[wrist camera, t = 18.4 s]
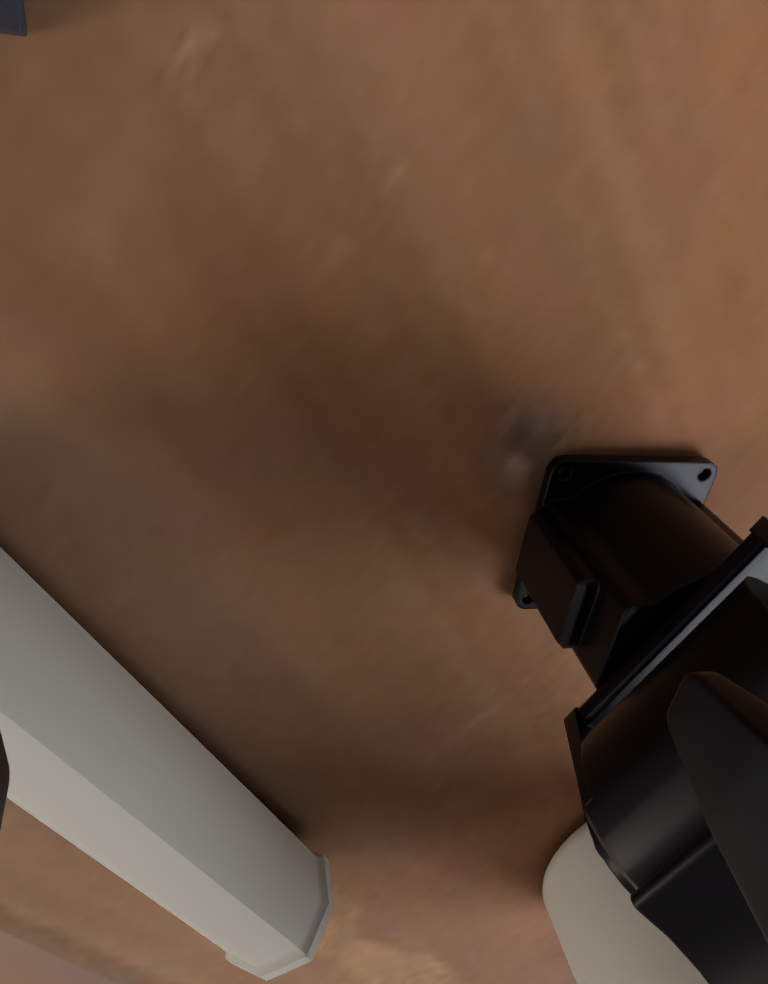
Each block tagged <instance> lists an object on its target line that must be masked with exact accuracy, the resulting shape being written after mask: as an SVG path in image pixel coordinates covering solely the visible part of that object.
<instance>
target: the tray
mask: <svg viewBox="0 0 768 984" xmlns="http://www.w3.org/2000/svg"><path fill="white" fill-rule="evenodd" d="M0 33H4V34H11V35H18V36H27V28H26V20H25V12H24V4H23V0H0Z"/></svg>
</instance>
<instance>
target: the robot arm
mask: <svg viewBox="0 0 768 984" xmlns="http://www.w3.org/2000/svg"><path fill="white" fill-rule="evenodd" d="M564 467H567V469H566V470H565V472H563V473H562V474H558V472H559V471H560V470H561V469H562V468H564ZM703 469H704V470H703ZM702 470H703V472H702V473H701V474H699V473H700V472H701V471H702ZM698 474H699V475H698ZM716 475H717V466H716V465H715V464H714V463H712V462H711V461H710V460H708V459H707V458H703V457H650V456H588V455H561V456H557V457H555V458H554V459H552V460H551V461H550V462H549V464H548V466H547V468H546V472H545V476H544V479H543V483H542V487H541V490H540V494H539V498H538V501H537V505H536V509H535V511H534V512H533V514H532V515H531V516H530V518H529V522H528V525H527V529H526V533H525V537H524V540H523V544H522V548H521V551H520V555H519V559H518V562H517V566H516V572H517V578H516V582H515V585H514V589H513V593H512V597H513V599H514V600H515V602H516V604H517V606H518V607H520V608H522V609H538V610H539V612H540V614H541V615H542V617H543V619H544V620H545V622H546V624H547V626H548V627H549V629H550V631H551V632H552V634H553V636H554V638H555V639H556V641H557V642H558V643H559V644H560V645H561V647H562V648H572V649H573V651H574V652H575V654H576V656H577V657H578V659H579V661H580V662H581V664H582V666H583V667H584V669H585V671H586V672H587V674H588V676H589V677H590V679H591V681H592V682H593V684H594V686H595V687H596V689H597V690H596V691H595V692H594V694H593V695H592V696H591V697H590V698H589V699H588V700H587V701H586V702H585V703H584V704H583V705H582V706H581V707H580V708H574V709H573V710H572V711H571V712H570V713H569V714H568V715H567V717H566V718H565V719H564V723H565V728H566V732H567V737H568V741H569V746H570V750H571V755H572V760H573V764H574V769H575V773H576V778H577V782H578V787H579V791H580V796H581V800H582V805H583V809H584V814H585V819H586V822H587V825H588V829H589V832H590V835H591V837H592V839H593V842H594V846H595V849H596V851H597V852H598V854H599V855H600V856H601V858H602V859H603V860H604V861H605V863H606V864H607V866H608V868H609V869H610V870H611V872H612V873H613V874H614V876H615V877H616V878H617V879H618V881H619V882H620V883H621V884H622V886H623V887H624V888H625V889H626V890H627V891H628V892H629V893H630V894H631V896H630V899H631V902H632V904H633V906H634V907H635V908H636V909H637V910H638V911H639V912H640V913H641V914H642V915H643V916H644V917H646V918H647V919H648V920H649V921H650V922H651V923H652V924H654V925H655V926H656V927H657V928H658V929H659V930H660V931H661V932H663V933H664V934H665V935H666V936H667V937H668V938H669V939H670V940H671V941H672V942H673V943H674V944H675V945H676V946H677V948H678V949H679V950H680V951H681V952H682V953H683V954H684V955H685V956H686V957H687V959H688V960H689V961H690V962H691V963H692V964H693V965H694V966H695V967H696V969H697V970H698V971H699V972H700V973H701V975H702V976H703V977H704V979H705V980H706V981H707V982H708V984H768V518H766V517H765V516H762V517H761V518H760V519H759V520H758V522H757V523H756V524H755V525H754V526H753V527H752V528H751V529H750V532H751V534H750V535H749V536H748V537H747V538H746V539H745V540H742V539H741V538H740V537H739V536H738V535H737V534H736V533H735V532H733V531H732V530H731V529H730V528H729V527H728V526H727V525H726V524H725V523H723V522H722V521H721V520H720V519H719V518H718V517H717V516H716V515H714V514H713V513H712V512H711V511H710V510H709V509H708V508H707V507H706V506H704V503H705V501H706V499H707V496H708V494H709V491H710V489H711V487H712V484H713V482H714V480H715V477H716ZM526 594H529V595H528V596H527V597H524V596H525V595H526ZM9 780H10V768H9V763H8V759H7V755H6V751H5V747H4V743H3V739H2V735H1V731H0V829H1V823H2V818H3V813H4V808H5V803H6V798H7V793H8V788H9Z"/></svg>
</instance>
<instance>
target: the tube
mask: <svg viewBox="0 0 768 984" xmlns="http://www.w3.org/2000/svg"><path fill="white" fill-rule="evenodd" d="M0 731H1V735H2V739H3V743H4V747H5V751H6V755H7V759H8V763H9V768H10V780H9V788H8V793H7V798H8V799H10V800H11V801H12V802H14V803H15V804H17V805H18V806H20V807H21V808H22V809H24V810H25V811H27V812H28V813H30V814H31V815H32V816H34V817H35V818H37V819H38V820H40V821H41V822H42V823H44V824H45V825H47V826H48V827H49V828H51V829H52V830H54V831H55V832H57V833H58V834H59V835H61V836H62V837H64V838H65V839H67V840H68V841H69V842H71V843H72V844H74V845H75V846H77V847H78V848H79V849H81V850H82V851H84V852H85V853H87V854H88V855H89V856H91V857H92V858H94V859H95V860H96V861H98V862H99V863H101V864H102V865H104V866H105V867H106V868H108V869H109V870H111V871H112V872H114V873H115V874H116V875H118V876H119V877H121V878H122V879H124V880H125V881H126V882H128V883H129V884H131V885H132V886H134V887H135V888H136V889H138V890H139V891H141V892H142V893H143V894H145V895H146V896H148V897H149V898H151V899H152V900H153V901H155V902H156V903H158V904H159V905H161V906H162V907H163V908H165V909H166V910H168V911H169V912H171V913H172V914H173V915H175V916H176V917H178V918H179V919H181V920H182V921H183V922H185V923H186V924H188V925H189V926H190V927H192V928H193V929H195V930H196V931H198V932H199V933H200V934H202V935H203V936H205V937H206V938H208V939H209V940H210V941H212V942H213V943H215V944H216V945H218V946H219V947H220V948H222V949H223V950H224V951H225V952H226V960H227V961H229V962H230V963H232V964H234V965H236V966H238V967H240V968H242V969H244V970H246V971H248V972H250V973H252V974H254V975H256V976H258V977H260V978H262V979H264V980H266V981H268V980H270V979H272V978H275V977H277V976H279V975H281V974H284V973H286V972H288V971H290V970H293V969H295V968H297V967H300V966H302V965H304V964H306V963H309V962H311V961H312V959H313V957H314V954H315V952H316V950H317V947H318V945H319V942H320V940H321V937H322V935H323V933H324V930H325V928H326V925H327V923H328V920H329V918H330V916H331V913H332V911H333V908H334V902H333V894H332V885H331V877H330V868H329V860H328V859H327V858H326V857H325V856H324V855H321V854H318V853H315V852H312V851H310V850H309V849H308V848H307V847H306V846H305V845H304V844H303V843H302V842H301V841H300V840H299V839H298V838H297V837H296V836H295V835H294V834H293V833H292V832H291V831H290V830H289V829H288V828H287V827H286V826H285V825H284V824H283V823H282V822H281V821H280V820H279V819H278V818H277V817H276V816H275V815H274V814H273V813H272V812H271V811H269V810H268V809H267V808H266V807H265V806H264V805H263V804H262V803H261V802H260V801H259V800H258V799H257V798H256V797H255V796H254V795H253V794H252V793H251V792H250V791H249V790H248V789H247V788H246V787H245V786H244V785H243V784H242V783H241V782H240V781H239V780H238V779H237V778H236V777H235V776H234V775H233V774H232V773H231V772H230V771H229V770H228V769H227V768H226V767H225V766H224V765H222V764H221V763H220V762H219V761H218V760H217V759H216V758H215V757H214V756H213V755H212V754H211V753H210V752H209V751H208V750H207V749H206V748H205V747H204V746H203V745H202V744H201V743H200V742H199V741H198V740H197V739H196V738H195V737H194V736H193V735H192V734H191V733H190V732H189V731H188V730H187V729H186V728H185V727H184V726H183V725H182V724H181V723H180V722H179V721H178V720H176V719H175V718H174V717H173V716H172V715H171V714H170V713H169V712H168V711H167V710H166V709H165V708H164V707H163V706H162V705H161V704H160V703H159V702H158V701H157V700H156V699H155V698H154V697H153V696H152V695H151V694H150V693H149V692H148V691H147V690H146V689H145V688H144V687H143V686H142V685H141V684H140V683H139V682H138V681H137V680H136V679H135V678H134V677H133V676H132V675H131V674H129V673H128V672H127V671H126V670H125V669H124V668H123V667H122V666H121V665H120V664H119V663H118V662H117V661H116V660H115V659H114V658H113V657H112V656H111V655H110V654H109V653H108V652H107V651H106V650H105V649H104V648H103V647H102V646H101V645H100V644H99V643H98V642H97V641H96V640H95V639H94V638H93V637H92V636H91V635H90V634H89V633H88V632H87V631H86V630H85V629H83V628H82V627H81V626H80V625H79V624H78V623H77V622H76V621H75V620H74V619H73V618H72V617H71V616H70V615H69V614H68V613H67V612H66V611H65V610H64V609H63V608H62V607H61V606H60V605H59V604H58V603H57V602H56V601H55V600H54V599H53V598H52V597H51V596H50V595H49V594H48V593H47V592H46V591H45V590H44V589H43V588H42V587H41V586H40V585H39V584H38V583H36V582H35V581H34V580H33V579H32V578H31V577H30V576H29V575H28V574H27V573H26V572H25V571H24V570H23V569H22V568H21V567H20V566H19V565H18V564H17V563H16V562H15V561H14V560H13V559H12V558H11V557H10V556H9V555H8V554H7V553H6V552H5V551H4V550H3V549H2V548H1V547H0Z"/></svg>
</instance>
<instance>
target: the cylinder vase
mask: <svg viewBox="0 0 768 984" xmlns="http://www.w3.org/2000/svg"><path fill="white" fill-rule="evenodd" d="M630 896H631V894H630V893H629V892H628V891H627V890H626V889H625V888H624V887H623V886H622V884H621V883H620V882H619V881H618V879H617V878H616V877H615V876H614V874H613V873H612V872H611V870H610V869H609V868H608V866H607V864H606V863H605V861H604V860H603V859H602V858H601V856H600V855H599V854H598V852H597V851H596V849H595V846H594V842H593V839H592V837H591V835H590V832H589V829H588V825H587V822H586V823H585V824H583V825H582V826H581V827H580V828H578V829H577V830H576V831H575V832H574V833H573V834H572V835H571V836H570V837H568V839H567V840H566V841H565V842H564V843H563V844H562V845H561V846H560V848H559V849H558V850H557V852H556V853H555V854H554V856H553V858H552V859H551V861H550V863H549V865H548V867H547V870H546V873H545V876H544V880H543V899H544V903H545V906H546V909H547V911H548V914H549V916H550V919H551V921H552V924H553V926H554V929H555V931H556V933H557V936H558V938H559V941H560V943H561V946H562V948H563V951H564V953H565V956H566V958H567V961H568V963H569V965H570V968H571V970H572V973H573V975H574V978H575V980H576V983H577V984H708V982H707V981H706V980H705V979H704V977H703V976H702V975H701V973H700V972H699V971H698V970H697V969H696V967H695V966H694V965H693V964H692V963H691V962H690V961H689V960H688V959H687V957H686V956H685V955H684V954H683V953H682V952H681V951H680V950H679V949H678V948H677V946H676V945H675V944H674V943H673V942H672V941H671V940H670V939H669V938H668V937H667V936H666V935H665V934H664V933H663V932H661V931H660V930H659V929H658V928H657V927H656V926H655V925H654V924H652V923H651V922H650V921H649V920H648V919H647V918H646V917H644V916H643V915H642V914H641V913H640V912H639V911H638V910H637V909H636V908H635V907H634V906H633V904H632V902H631V899H630Z"/></svg>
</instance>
